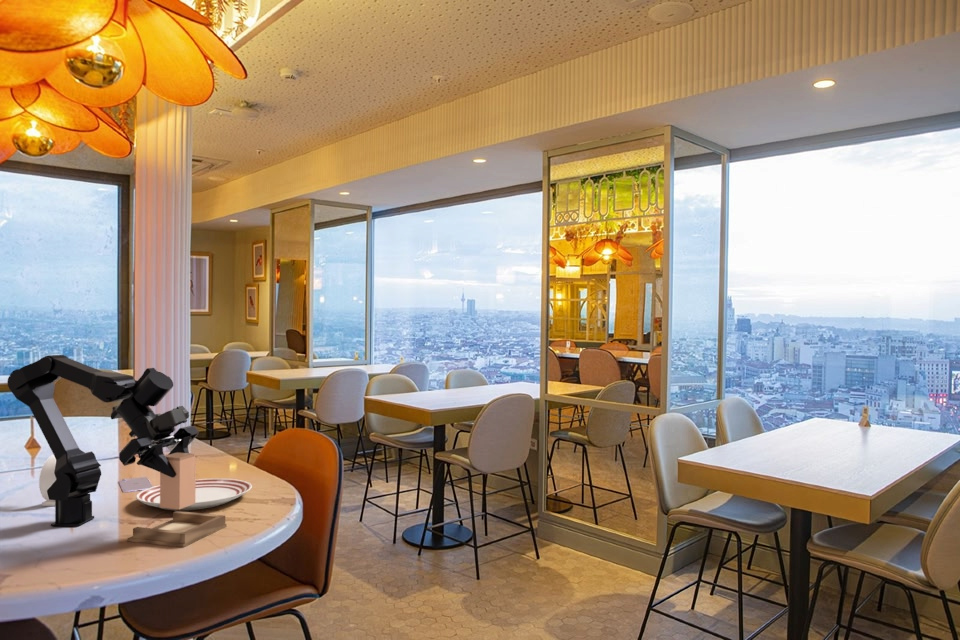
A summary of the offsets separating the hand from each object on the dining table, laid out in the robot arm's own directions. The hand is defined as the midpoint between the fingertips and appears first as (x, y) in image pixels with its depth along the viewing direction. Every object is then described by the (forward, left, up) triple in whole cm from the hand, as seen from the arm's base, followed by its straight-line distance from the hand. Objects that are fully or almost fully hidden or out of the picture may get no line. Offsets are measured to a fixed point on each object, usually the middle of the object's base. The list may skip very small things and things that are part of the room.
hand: (183, 473), depth 144 cm
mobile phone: (-33, +41, -14) cm, 55 cm away
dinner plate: (-9, +27, -14) cm, 31 cm away
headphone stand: (-43, +23, -14) cm, 51 cm away
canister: (-1, 0, -7) cm, 7 cm away
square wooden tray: (-1, +1, -13) cm, 13 cm away
